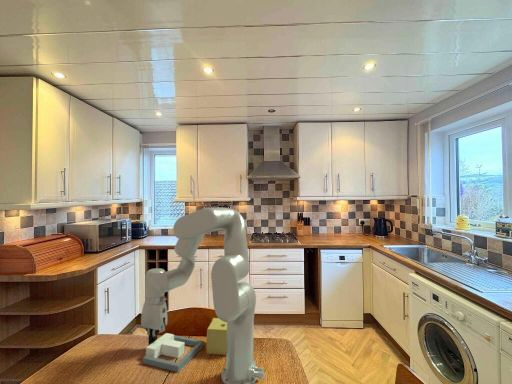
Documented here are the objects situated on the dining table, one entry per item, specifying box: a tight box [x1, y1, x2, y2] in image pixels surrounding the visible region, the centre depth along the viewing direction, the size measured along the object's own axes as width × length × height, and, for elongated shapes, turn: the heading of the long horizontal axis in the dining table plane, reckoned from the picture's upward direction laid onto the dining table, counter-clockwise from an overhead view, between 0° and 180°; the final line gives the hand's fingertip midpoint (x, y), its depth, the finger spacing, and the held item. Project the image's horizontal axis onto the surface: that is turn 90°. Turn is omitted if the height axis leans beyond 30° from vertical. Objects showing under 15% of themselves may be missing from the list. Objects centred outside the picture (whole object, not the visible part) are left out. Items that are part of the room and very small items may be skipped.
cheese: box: [206, 317, 227, 356], centre depth 104 cm, size 10×11×10 cm
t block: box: [145, 332, 186, 359], centre depth 100 cm, size 12×12×4 cm
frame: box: [142, 334, 205, 373], centre depth 99 cm, size 16×18×2 cm
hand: (152, 344), depth 103 cm, fingers closed
